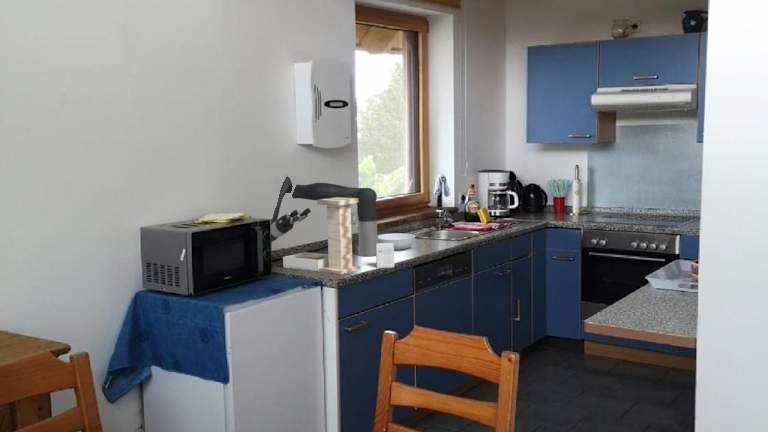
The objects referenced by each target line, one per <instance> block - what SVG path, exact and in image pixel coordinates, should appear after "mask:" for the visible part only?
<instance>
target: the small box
mask: <svg viewBox="0 0 768 432" xmlns="http://www.w3.org/2000/svg"><path fill="white" fill-rule="evenodd" d="M375 259H376V260H375V261H376V268H377V269H382V268H385V269H386V268H388V269H389V268H395V251H394V245H393V243H376V256H375Z"/></svg>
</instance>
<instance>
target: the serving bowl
mask: <svg viewBox="0 0 768 432" xmlns="http://www.w3.org/2000/svg"><path fill="white" fill-rule="evenodd" d="M377 235H378V243H393V245H394V252H395V251H403V250H406V249H409V248H410V247H412V246H413V245H414V243H415V241H416V235H415V234H413V233H401V232H399V233H397V232H395V233H382V234H377Z"/></svg>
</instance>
